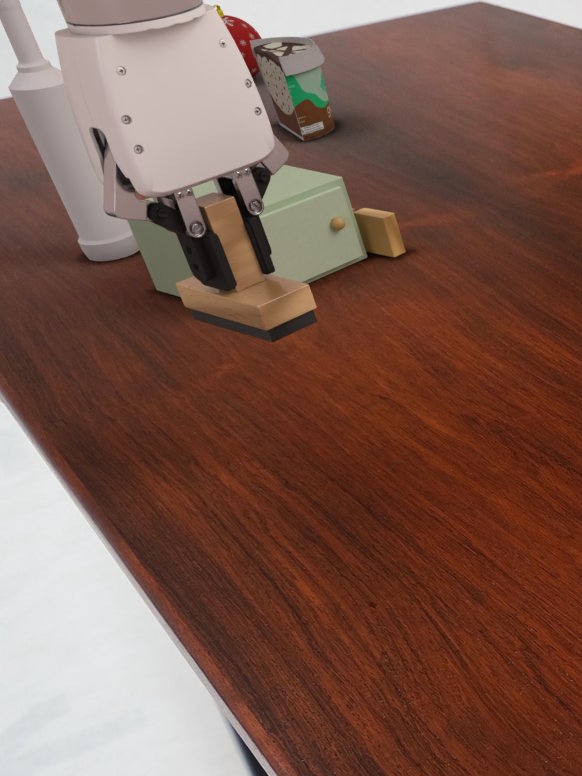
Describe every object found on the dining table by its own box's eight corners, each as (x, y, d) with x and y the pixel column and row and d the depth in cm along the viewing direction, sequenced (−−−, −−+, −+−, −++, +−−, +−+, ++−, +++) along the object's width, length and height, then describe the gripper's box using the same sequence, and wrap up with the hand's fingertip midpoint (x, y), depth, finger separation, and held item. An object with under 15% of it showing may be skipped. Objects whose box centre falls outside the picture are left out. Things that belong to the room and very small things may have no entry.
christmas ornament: (193, 88, 176) (164, 12, 170) (235, 71, 183) (209, -3, 177) (246, 90, 174) (220, 13, 169) (287, 72, 181) (263, -2, 176)
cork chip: (382, 218, 121) (394, 212, 122) (352, 212, 123) (364, 207, 124) (394, 257, 124) (406, 252, 125) (364, 251, 125) (376, 246, 126)
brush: (272, 344, 87) (224, 219, 82) (189, 320, 90) (139, 199, 85) (322, 321, 89) (279, 199, 84) (240, 298, 93) (194, 180, 88)
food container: (359, 132, 157) (334, 47, 151) (308, 143, 154) (280, 58, 148) (325, 111, 165) (300, 30, 159) (275, 122, 162) (248, 39, 156)
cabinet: (249, 317, 113) (216, 231, 109) (156, 290, 119) (121, 207, 114) (378, 260, 123) (353, 178, 119) (287, 237, 129) (259, 159, 124)
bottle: (156, 243, 129) (46, -22, 114) (115, 263, 125) (-4, -9, 110) (113, 240, 130) (-1, -23, 116) (72, 260, 126) (-51, -10, 112)
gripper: (211, -36, 85) (303, 229, 95) (-43, 20, 74) (93, 314, 84) (284, -28, 82) (371, 245, 92) (31, 32, 70) (163, 336, 81)
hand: (238, 276), depth 88 cm, fingers closed on brush, 2 cm apart
